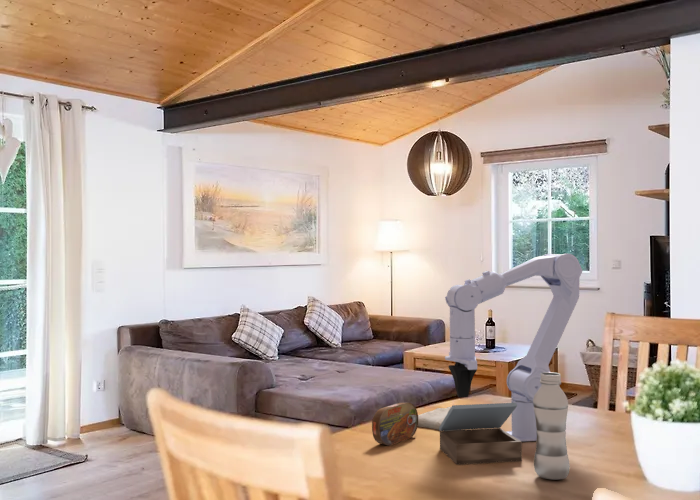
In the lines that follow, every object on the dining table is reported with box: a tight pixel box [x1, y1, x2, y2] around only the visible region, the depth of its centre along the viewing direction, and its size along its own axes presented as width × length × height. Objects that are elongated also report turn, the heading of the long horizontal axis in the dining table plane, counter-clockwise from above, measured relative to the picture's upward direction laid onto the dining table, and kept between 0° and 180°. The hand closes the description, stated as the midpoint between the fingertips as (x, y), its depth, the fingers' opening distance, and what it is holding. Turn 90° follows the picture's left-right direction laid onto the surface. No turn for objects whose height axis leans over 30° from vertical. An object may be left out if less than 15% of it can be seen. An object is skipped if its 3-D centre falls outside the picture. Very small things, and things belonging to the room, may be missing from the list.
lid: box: [439, 402, 517, 432], centre depth 157 cm, size 14×12×1 cm
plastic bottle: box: [533, 371, 571, 481], centre depth 140 cm, size 6×7×20 cm
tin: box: [371, 402, 419, 446], centre depth 168 cm, size 15×3×8 cm, turn 139°
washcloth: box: [418, 406, 452, 431], centre depth 186 cm, size 12×18×3 cm, turn 141°
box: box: [439, 427, 523, 466], centre depth 156 cm, size 14×12×4 cm
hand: (462, 396), depth 167 cm, fingers closed
